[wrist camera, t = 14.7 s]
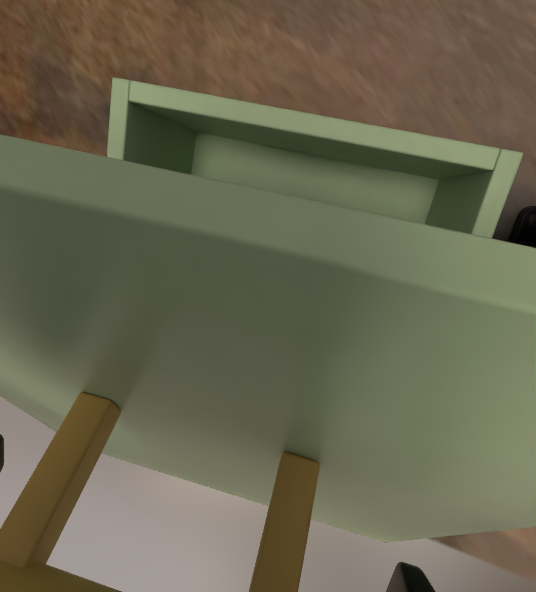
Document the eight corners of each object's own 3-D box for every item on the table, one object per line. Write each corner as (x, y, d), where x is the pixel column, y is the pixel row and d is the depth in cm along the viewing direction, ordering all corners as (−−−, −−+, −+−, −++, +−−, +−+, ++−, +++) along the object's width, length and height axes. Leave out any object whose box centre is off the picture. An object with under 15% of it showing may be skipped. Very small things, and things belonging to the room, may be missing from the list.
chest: (191, 118, 18) (111, 76, 12) (453, 168, 16) (524, 152, 10) (159, 364, 22) (86, 433, 15) (371, 423, 20) (385, 525, 14)
